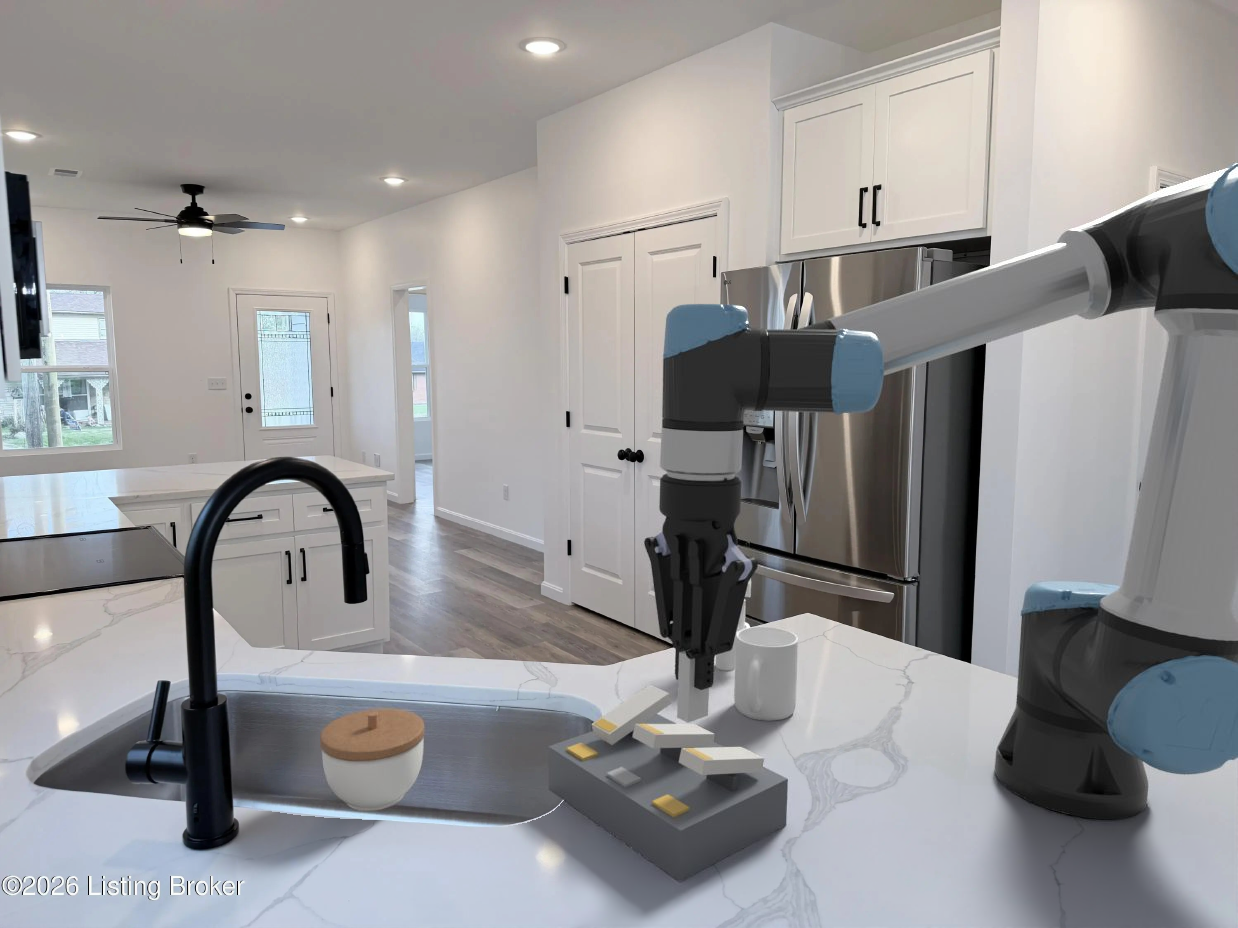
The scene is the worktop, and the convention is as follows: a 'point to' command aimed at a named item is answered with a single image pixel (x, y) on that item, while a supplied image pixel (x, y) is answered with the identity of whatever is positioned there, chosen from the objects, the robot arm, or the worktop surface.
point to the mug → (765, 673)
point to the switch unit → (666, 800)
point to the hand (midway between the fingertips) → (692, 716)
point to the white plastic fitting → (728, 658)
